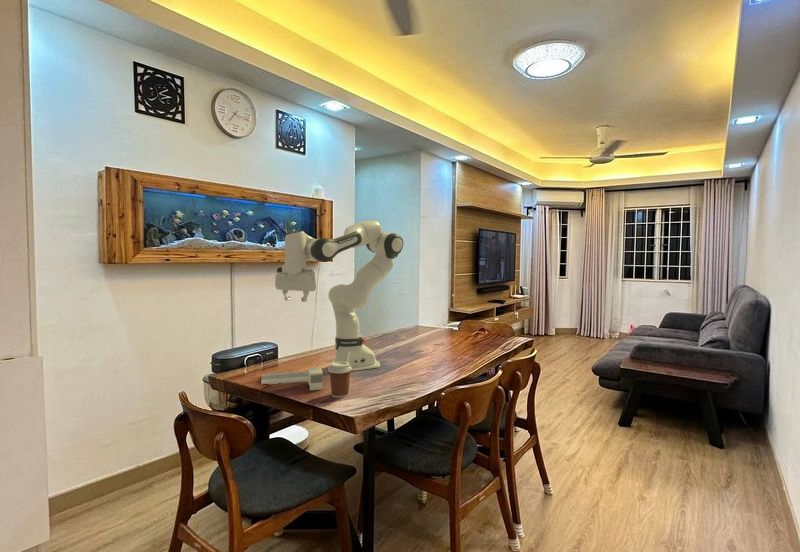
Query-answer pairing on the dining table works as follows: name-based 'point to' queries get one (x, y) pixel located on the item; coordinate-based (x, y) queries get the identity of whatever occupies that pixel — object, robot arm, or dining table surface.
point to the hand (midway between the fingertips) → (295, 301)
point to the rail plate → (284, 377)
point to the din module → (315, 378)
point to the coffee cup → (340, 378)
